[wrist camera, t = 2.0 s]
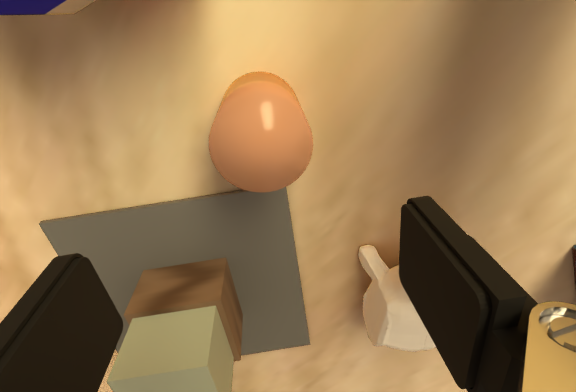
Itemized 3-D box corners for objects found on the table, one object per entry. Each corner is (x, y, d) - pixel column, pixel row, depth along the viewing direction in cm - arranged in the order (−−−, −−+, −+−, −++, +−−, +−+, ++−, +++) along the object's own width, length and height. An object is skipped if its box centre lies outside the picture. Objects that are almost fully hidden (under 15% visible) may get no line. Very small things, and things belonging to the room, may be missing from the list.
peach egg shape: (294, 65, 23) (307, 86, 16) (302, 142, 25) (317, 184, 19) (213, 78, 23) (196, 103, 16) (230, 153, 25) (222, 199, 19)
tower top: (215, 305, 25) (207, 366, 21) (233, 357, 29) (229, 419, 24) (132, 318, 25) (106, 381, 21) (159, 369, 29) (142, 433, 24)
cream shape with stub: (420, 278, 38) (478, 195, 26) (449, 358, 32) (539, 300, 21) (346, 284, 37) (371, 203, 26) (364, 367, 32) (406, 312, 20)
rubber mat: (285, 183, 27) (285, 185, 27) (309, 341, 37) (310, 344, 36) (41, 221, 27) (38, 223, 26) (131, 369, 37) (130, 372, 36)
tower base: (226, 257, 30) (220, 299, 25) (242, 314, 33) (240, 360, 29) (143, 270, 30) (123, 315, 25) (169, 326, 33) (155, 373, 29)
